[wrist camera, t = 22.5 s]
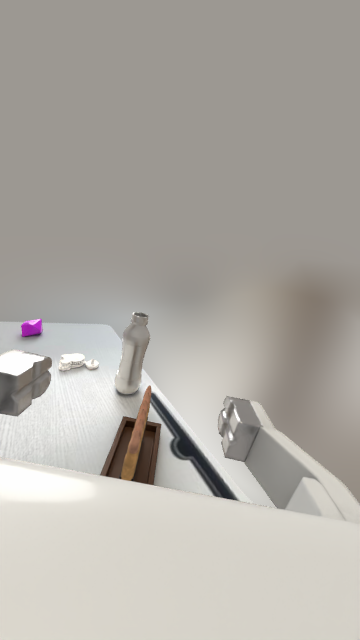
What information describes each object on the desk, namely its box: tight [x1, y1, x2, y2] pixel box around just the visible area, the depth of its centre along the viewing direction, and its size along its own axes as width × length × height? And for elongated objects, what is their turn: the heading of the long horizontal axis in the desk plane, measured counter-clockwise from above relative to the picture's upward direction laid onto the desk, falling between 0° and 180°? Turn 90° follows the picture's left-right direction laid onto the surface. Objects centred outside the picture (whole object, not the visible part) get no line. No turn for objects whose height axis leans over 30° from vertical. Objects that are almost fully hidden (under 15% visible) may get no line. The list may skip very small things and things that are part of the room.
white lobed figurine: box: [59, 354, 99, 371], centre depth 51 cm, size 9×9×2 cm
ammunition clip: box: [119, 386, 151, 481], centre depth 27 cm, size 11×2×12 cm, turn 179°
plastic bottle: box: [115, 312, 150, 394], centre depth 44 cm, size 6×7×20 cm
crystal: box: [21, 319, 43, 337], centre depth 61 cm, size 5×5×5 cm
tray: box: [100, 416, 161, 485], centre depth 29 cm, size 15×8×2 cm, turn 179°
